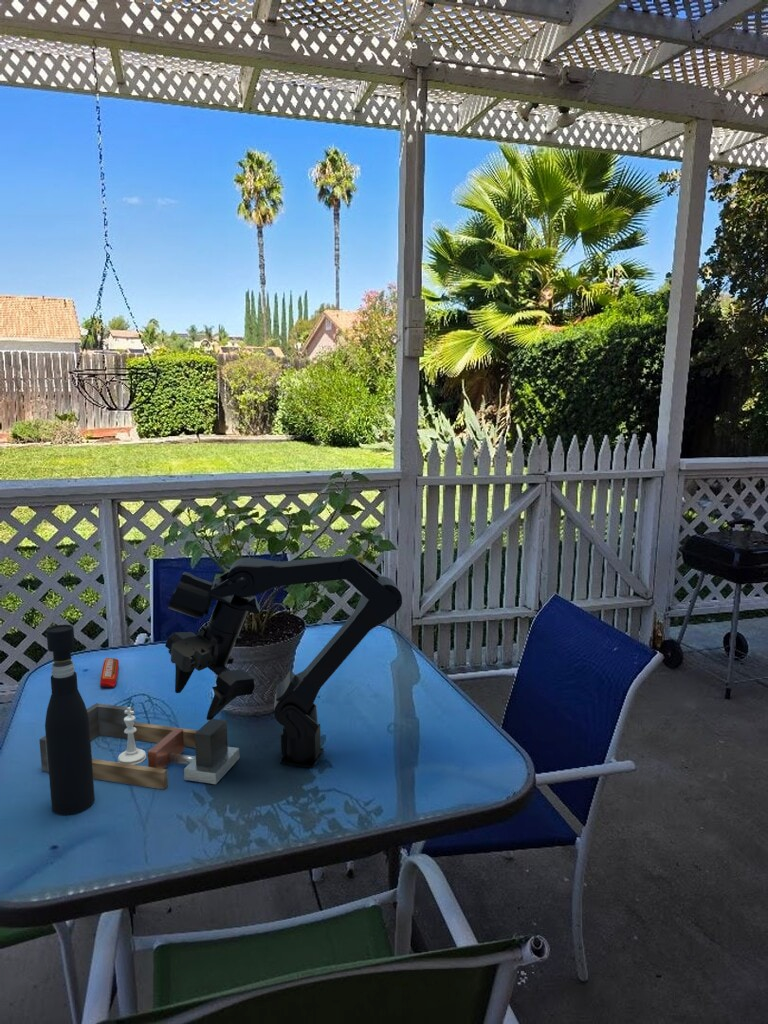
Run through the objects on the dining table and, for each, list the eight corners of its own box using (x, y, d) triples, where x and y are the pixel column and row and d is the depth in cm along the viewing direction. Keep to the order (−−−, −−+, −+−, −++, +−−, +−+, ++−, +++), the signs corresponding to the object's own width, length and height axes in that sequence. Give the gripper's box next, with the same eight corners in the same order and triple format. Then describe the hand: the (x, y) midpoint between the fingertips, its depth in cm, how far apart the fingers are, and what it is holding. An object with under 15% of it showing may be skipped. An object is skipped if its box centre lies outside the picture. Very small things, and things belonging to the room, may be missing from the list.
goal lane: (208, 746, 130) (207, 716, 129) (164, 789, 115) (162, 756, 114) (98, 731, 136) (96, 703, 135) (42, 770, 121) (39, 739, 120)
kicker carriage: (239, 758, 125) (238, 717, 124) (215, 784, 116) (213, 740, 115) (176, 749, 128) (174, 709, 127) (148, 774, 120) (146, 731, 118)
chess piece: (136, 767, 123) (133, 714, 121) (112, 764, 124) (108, 712, 122) (151, 753, 127) (148, 703, 126) (127, 751, 128) (124, 701, 127)
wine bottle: (50, 819, 107) (35, 637, 102) (52, 798, 113) (38, 624, 108) (95, 810, 109) (82, 631, 105) (94, 789, 115) (82, 619, 111)
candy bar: (116, 689, 157) (115, 677, 157) (99, 691, 156) (98, 679, 155) (119, 665, 172) (118, 654, 172) (104, 667, 171) (103, 655, 170)
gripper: (157, 602, 118) (125, 683, 120) (224, 653, 108) (190, 740, 110) (204, 604, 128) (175, 678, 129) (271, 651, 118) (238, 731, 119)
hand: (192, 705), depth 121 cm, fingers open, 9 cm apart
